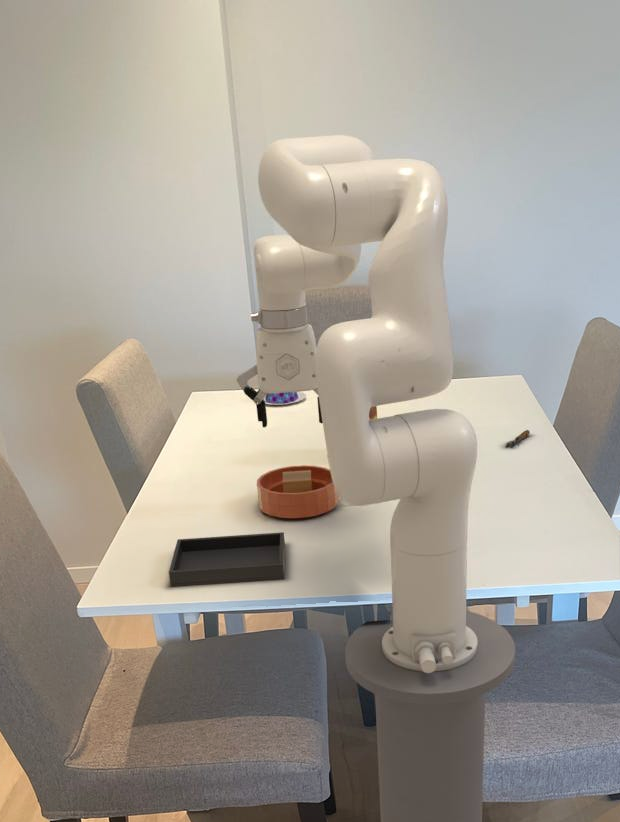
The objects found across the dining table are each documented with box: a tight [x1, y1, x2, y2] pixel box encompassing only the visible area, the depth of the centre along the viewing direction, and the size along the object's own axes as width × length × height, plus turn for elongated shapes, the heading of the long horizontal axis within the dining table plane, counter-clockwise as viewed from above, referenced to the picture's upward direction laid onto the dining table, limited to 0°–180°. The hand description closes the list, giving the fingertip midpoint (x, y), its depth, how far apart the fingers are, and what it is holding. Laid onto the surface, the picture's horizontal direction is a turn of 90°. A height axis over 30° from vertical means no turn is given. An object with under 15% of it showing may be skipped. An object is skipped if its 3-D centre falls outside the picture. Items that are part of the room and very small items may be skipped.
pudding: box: [264, 391, 307, 406], centre depth 224 cm, size 12×12×5 cm
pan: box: [168, 531, 286, 587], centre depth 145 cm, size 12×17×2 cm
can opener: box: [505, 429, 531, 447], centre depth 189 cm, size 9×2×1 cm, turn 140°
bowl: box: [256, 464, 340, 519], centre depth 165 cm, size 14×14×5 cm
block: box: [282, 470, 312, 493], centre depth 164 cm, size 5×5×5 cm
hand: (293, 423), depth 158 cm, fingers open, 9 cm apart
